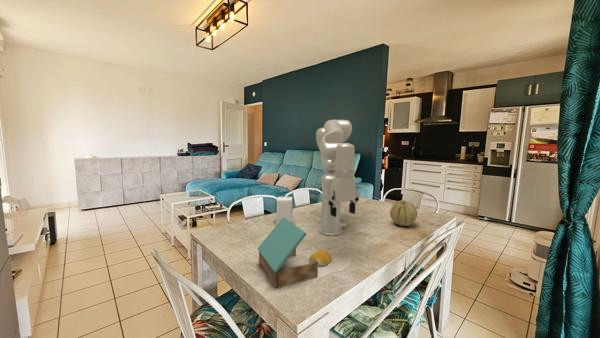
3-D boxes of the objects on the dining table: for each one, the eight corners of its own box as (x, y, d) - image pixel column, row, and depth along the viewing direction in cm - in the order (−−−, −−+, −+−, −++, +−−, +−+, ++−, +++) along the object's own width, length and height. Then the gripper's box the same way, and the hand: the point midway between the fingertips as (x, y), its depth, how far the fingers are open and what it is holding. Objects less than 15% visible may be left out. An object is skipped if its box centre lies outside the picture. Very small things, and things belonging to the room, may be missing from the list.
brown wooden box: (295, 254, 105) (295, 242, 104) (317, 276, 88) (317, 262, 88) (259, 263, 97) (258, 250, 97) (276, 288, 81) (276, 273, 80)
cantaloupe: (411, 221, 149) (412, 197, 148) (420, 230, 135) (422, 203, 133) (386, 220, 151) (387, 196, 149) (393, 229, 136) (394, 202, 135)
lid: (285, 218, 101) (283, 216, 100) (306, 234, 84) (305, 232, 84) (258, 249, 97) (257, 248, 96) (276, 272, 80) (274, 271, 80)
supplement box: (291, 225, 140) (291, 200, 138) (276, 225, 140) (276, 200, 138) (292, 220, 149) (292, 196, 147) (277, 220, 149) (277, 196, 147)
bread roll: (334, 259, 101) (334, 250, 101) (323, 269, 94) (323, 259, 93) (317, 254, 106) (317, 245, 106) (305, 262, 99) (305, 253, 98)
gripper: (355, 171, 107) (353, 209, 110) (321, 174, 100) (320, 214, 102) (366, 174, 101) (365, 214, 103) (331, 176, 93) (330, 220, 95)
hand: (342, 214), depth 102 cm, fingers open, 9 cm apart
